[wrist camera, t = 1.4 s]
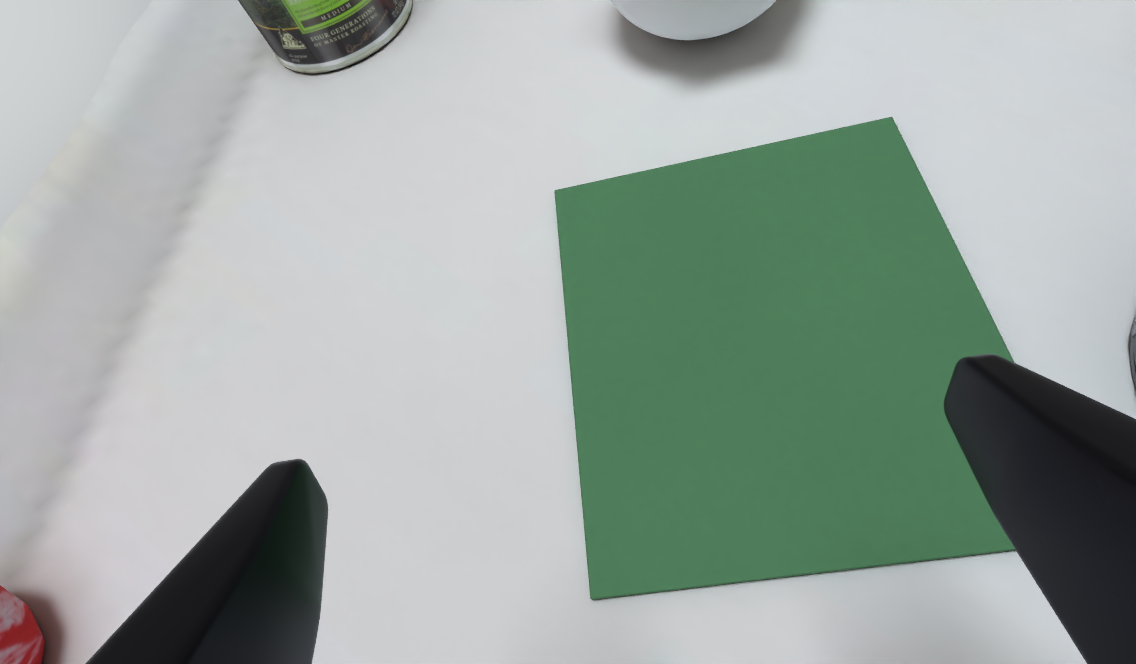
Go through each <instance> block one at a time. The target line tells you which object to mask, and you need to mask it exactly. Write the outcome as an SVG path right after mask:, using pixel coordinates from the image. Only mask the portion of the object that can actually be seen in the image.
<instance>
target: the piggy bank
mask: <svg viewBox="0 0 1136 664" xmlns="http://www.w3.org/2000/svg"><path fill="white" fill-rule="evenodd" d="M775 1H776V0H611V2H612V3H613V4H614V6H615V7H616V8H617V9H618V11H619V12H620V13H621V14H622V15H623V16H624V17H625V18H627V19H628V20H629V21H630V22H631V23H633V24H634V25H636V26H637V27H639V28H641V29H643V30H645V31H647V32H649V33H652V34H654V35H657V36H661V37H665V38H670V39H677V40H698V39H706V38H711V37H715V36H719V35H723V34H726V33H728V32H731V31H733V30H736V29H738V28H740V27H742V26H744V25H746V24H747V23H749V22H751V21H752V20H754V19H755V18H757V17H758V16H760V15H761V14H762V13H763V12H765V11H766V10H767V9H768V8H769V7H770V6H771V5H772V4H773V3H774V2H775Z"/></svg>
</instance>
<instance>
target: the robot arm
mask: <svg viewBox="0 0 1136 664" xmlns="http://www.w3.org/2000/svg"><path fill="white" fill-rule="evenodd" d="M944 412H945V416H946V418H947V420H948V422H949V424H950V426H951V429H952V431H953V433H954V435H955V437H956V439H957V441H958V443H959V445H960V447H961V449H962V451H963V453H964V455H965V457H966V459H967V461H968V463H969V465H970V468H971V470H972V472H973V474H974V476H975V478H976V480H977V482H978V484H979V486H980V488H981V490H982V492H983V494H984V496H985V498H986V500H987V502H988V504H989V506H990V508H991V510H992V512H993V513H994V515H995V517H996V519H997V520H998V522H999V524H1000V525H1001V527H1002V529H1003V530H1004V532H1005V534H1006V535H1007V537H1008V538H1009V540H1010V541H1011V543H1012V545H1013V546H1014V548H1015V549H1016V551H1017V553H1018V554H1019V556H1020V557H1021V559H1022V561H1023V562H1024V564H1025V565H1026V567H1027V569H1028V570H1029V572H1030V573H1031V575H1032V577H1033V578H1034V580H1035V581H1036V583H1037V584H1038V586H1039V588H1040V589H1041V591H1042V592H1043V594H1044V596H1045V597H1046V599H1047V600H1048V602H1049V604H1050V605H1051V607H1052V608H1053V610H1054V612H1055V613H1056V615H1057V616H1058V618H1059V620H1060V621H1061V623H1062V624H1063V626H1064V627H1065V629H1066V631H1067V632H1068V634H1069V635H1070V637H1071V639H1072V640H1073V642H1074V643H1075V645H1076V647H1077V648H1078V650H1079V651H1080V653H1081V655H1082V656H1083V658H1084V659H1085V661H1086V663H1087V664H1136V419H1134V418H1132V417H1130V416H1128V415H1125V414H1123V413H1121V412H1119V411H1117V410H1115V409H1112V408H1110V407H1108V406H1106V405H1104V404H1102V403H1100V402H1097V401H1095V400H1093V399H1091V398H1089V397H1087V396H1085V395H1082V394H1080V393H1078V392H1076V391H1074V390H1072V389H1069V388H1067V387H1065V386H1063V385H1061V384H1059V383H1057V382H1054V381H1052V380H1050V379H1048V378H1046V377H1044V376H1041V375H1039V374H1037V373H1035V372H1033V371H1031V370H1029V369H1026V368H1024V367H1022V366H1020V365H1018V364H1016V363H1014V362H1011V361H1009V360H1007V359H1005V358H1003V357H1001V356H998V355H996V354H981V355H975V356H968V357H964V358H961V359H960V360H959V361H958V362H957V363H956V366H955V368H954V371H953V374H952V377H951V380H950V383H949V386H948V389H947V392H946V395H945V398H944ZM327 519H328V504H327V499H326V496H325V494H324V492H323V490H322V488H321V486H320V485H319V483H318V481H317V479H316V478H315V476H314V474H313V472H312V471H311V469H310V467H309V465H308V464H307V463H306V462H305V461H304V460H302V459H294V460H288V461H281V462H276V463H273V464H271V465H270V466H269V467H267V468H266V469H265V470H264V472H263V473H262V474H261V475H260V476H259V477H258V478H257V479H256V480H255V481H254V482H253V483H252V484H251V486H250V487H249V488H248V489H247V490H246V491H245V492H244V493H243V494H242V495H241V496H240V497H239V499H238V500H237V501H236V502H235V503H234V504H233V505H232V506H231V507H230V508H229V509H228V510H227V511H226V513H225V514H224V515H223V516H222V517H221V518H220V519H219V520H218V521H217V522H216V523H215V524H214V526H213V527H212V528H211V529H210V530H209V531H208V532H207V533H206V534H205V535H204V536H203V537H202V538H201V540H200V541H199V542H198V543H197V544H196V545H195V546H194V547H193V548H192V549H191V550H190V551H189V553H188V554H187V555H186V556H185V557H184V558H183V559H182V560H181V561H180V562H179V563H178V564H177V565H176V567H175V568H174V569H173V570H172V571H171V572H170V573H169V574H168V575H167V576H166V577H165V578H164V580H163V581H162V582H161V583H160V584H159V585H158V586H157V587H156V588H155V589H154V590H153V591H152V592H151V594H150V595H149V596H148V597H147V598H146V599H145V600H144V601H143V602H142V603H141V604H140V605H139V607H138V608H137V609H136V610H135V611H134V612H133V613H132V614H131V615H130V616H129V617H128V618H127V619H126V621H125V622H124V623H123V624H122V625H121V626H120V627H119V628H118V629H117V630H116V631H115V632H114V634H113V635H112V636H111V637H110V638H109V639H108V640H107V641H106V642H105V643H104V644H103V645H102V646H101V648H100V649H99V650H98V651H97V652H96V653H95V654H94V655H93V656H92V657H91V658H90V659H89V661H88V662H87V663H86V664H312V659H313V653H314V648H315V643H316V637H317V632H318V625H319V619H320V611H321V601H322V587H323V574H324V560H325V547H326V533H327Z"/></svg>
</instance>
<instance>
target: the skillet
mask: <svg viewBox="0 0 1136 664" xmlns="http://www.w3.org/2000/svg"><path fill="white" fill-rule="evenodd" d="M1130 360H1131V369H1132V376H1133V379H1134V383H1135V387H1136V315H1135V319H1134V322H1133V326H1132V329H1131V340H1130Z"/></svg>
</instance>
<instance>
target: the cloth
mask: <svg viewBox="0 0 1136 664" xmlns="http://www.w3.org/2000/svg"><path fill="white" fill-rule="evenodd" d="M555 201H556V212H557V224H558V235H559V246H560V258H561V269H562V280H563V292H564V303H565V314H566V326H567V337H568V348H569V360H570V371H571V382H572V394H573V405H574V416H575V428H576V439H577V450H578V462H579V473H580V484H581V496H582V507H583V518H584V530H585V541H586V552H587V564H588V575H589V586H590V598H591V599H592V600H597V599H605V598H614V597H623V596H631V595H640V594H648V593H657V592H665V591H674V590H682V589H691V588H699V587H708V586H716V585H725V584H733V583H742V582H751V581H759V580H768V579H776V578H785V577H793V576H802V575H810V574H819V573H827V572H836V571H844V570H853V569H861V568H870V567H878V566H887V565H896V564H904V563H913V562H921V561H930V560H938V559H947V558H955V557H964V556H972V555H981V554H989V553H998V552H1006V551H1015V550H1016V549H1015V548H1014V546H1013V545H1012V543H1011V541H1010V540H1009V538H1008V537H1007V535H1006V534H1005V532H1004V530H1003V529H1002V527H1001V525H1000V524H999V522H998V520H997V519H996V517H995V515H994V513H993V512H992V510H991V508H990V506H989V504H988V502H987V500H986V498H985V496H984V494H983V492H982V490H981V488H980V486H979V484H978V482H977V480H976V478H975V476H974V474H973V472H972V470H971V468H970V465H969V463H968V461H967V459H966V457H965V455H964V453H963V451H962V449H961V447H960V445H959V443H958V441H957V439H956V437H955V435H954V433H953V431H952V429H951V426H950V424H949V422H948V420H947V418H946V416H945V412H944V398H945V395H946V392H947V389H948V386H949V383H950V380H951V377H952V374H953V371H954V368H955V366H956V363H957V362H958V361H959V360H960V359H961V358H964V357H968V356H975V355H981V354H996V355H998V356H1001V357H1003V358H1005V359H1007V360H1009V361H1011V362H1014V361H1013V359H1012V357H1011V355H1010V353H1009V351H1008V349H1007V347H1006V345H1005V343H1004V341H1003V339H1002V337H1001V335H1000V333H999V331H998V329H997V327H996V324H995V322H994V320H993V318H992V316H991V314H990V312H989V310H988V308H987V306H986V304H985V302H984V300H983V298H982V296H981V294H980V292H979V290H978V288H977V286H976V284H975V282H974V280H973V278H972V276H971V274H970V272H969V270H968V268H967V266H966V264H965V262H964V260H963V258H962V256H961V254H960V252H959V250H958V248H957V246H956V244H955V242H954V240H953V238H952V236H951V234H950V232H949V230H948V228H947V226H946V224H945V222H944V220H943V218H942V216H941V214H940V212H939V210H938V208H937V206H936V204H935V202H934V200H933V198H932V196H931V194H930V192H929V190H928V188H927V186H926V184H925V182H924V180H923V178H922V176H921V174H920V172H919V170H918V168H917V166H916V164H915V162H914V160H913V158H912V156H911V154H910V152H909V150H908V148H907V146H906V144H905V142H904V140H903V138H902V136H901V134H900V132H899V130H898V128H897V126H896V124H895V122H894V120H893V118H892V117H889V118H885V119H880V120H875V121H871V122H866V123H862V124H857V125H852V126H848V127H843V128H839V129H834V130H830V131H825V132H820V133H816V134H811V135H807V136H802V137H797V138H793V139H788V140H784V141H779V142H774V143H770V144H765V145H761V146H756V147H752V148H747V149H742V150H738V151H733V152H729V153H724V154H719V155H715V156H710V157H706V158H701V159H697V160H692V161H687V162H683V163H678V164H674V165H669V166H664V167H660V168H655V169H651V170H646V171H641V172H637V173H632V174H628V175H623V176H619V177H614V178H609V179H605V180H600V181H596V182H591V183H586V184H582V185H577V186H573V187H568V188H564V189H559V190H555Z"/></svg>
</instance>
